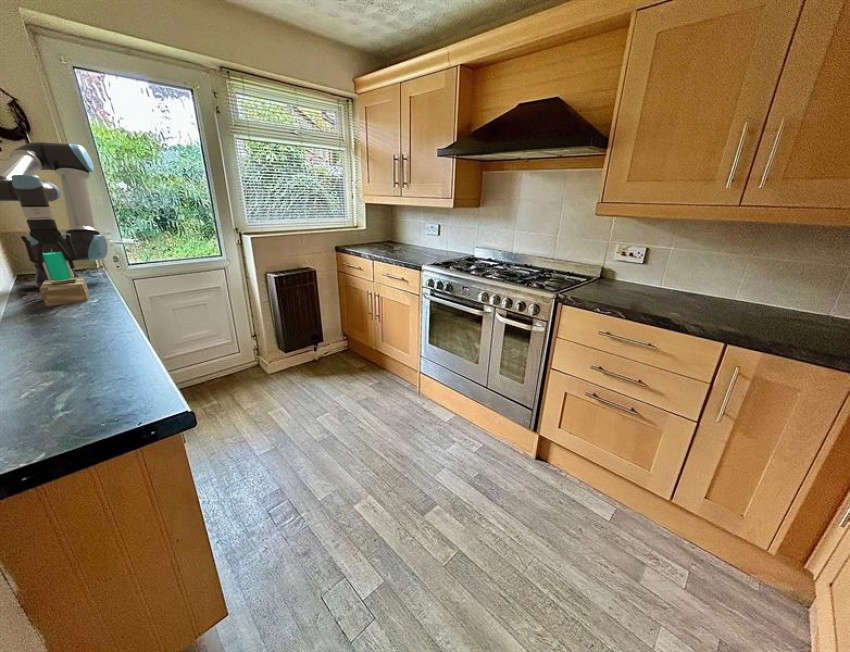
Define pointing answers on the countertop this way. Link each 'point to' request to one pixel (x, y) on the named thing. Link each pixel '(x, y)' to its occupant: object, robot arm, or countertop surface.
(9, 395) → the countertop surface
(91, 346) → the countertop surface
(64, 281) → the box
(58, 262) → the candle
